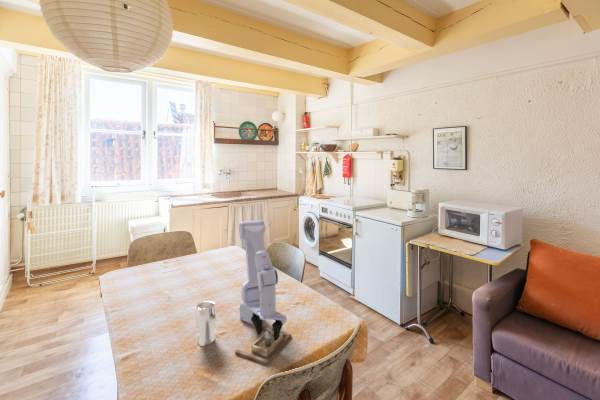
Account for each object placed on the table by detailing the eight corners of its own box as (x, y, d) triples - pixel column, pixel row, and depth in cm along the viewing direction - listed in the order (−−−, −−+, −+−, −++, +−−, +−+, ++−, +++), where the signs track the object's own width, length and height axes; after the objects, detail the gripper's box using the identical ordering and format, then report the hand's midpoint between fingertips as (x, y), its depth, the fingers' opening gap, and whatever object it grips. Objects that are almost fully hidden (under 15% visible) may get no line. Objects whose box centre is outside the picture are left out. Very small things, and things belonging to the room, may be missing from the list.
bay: (235, 356, 105) (235, 351, 105) (263, 330, 121) (263, 325, 121) (266, 368, 99) (266, 362, 99) (291, 338, 115) (291, 334, 115)
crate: (251, 351, 106) (251, 335, 105) (267, 335, 116) (267, 320, 115) (268, 357, 103) (268, 340, 102) (283, 340, 113) (283, 324, 112)
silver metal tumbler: (218, 336, 117) (217, 300, 115) (214, 347, 110) (212, 309, 108) (200, 336, 116) (199, 300, 114) (195, 347, 109) (193, 309, 107)
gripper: (244, 301, 106) (245, 336, 108) (279, 311, 100) (279, 347, 102) (255, 293, 113) (256, 327, 115) (289, 302, 106) (289, 337, 108)
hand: (268, 336), depth 109 cm, fingers open, 7 cm apart
